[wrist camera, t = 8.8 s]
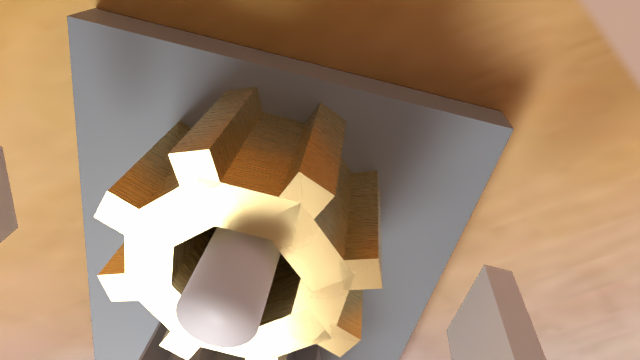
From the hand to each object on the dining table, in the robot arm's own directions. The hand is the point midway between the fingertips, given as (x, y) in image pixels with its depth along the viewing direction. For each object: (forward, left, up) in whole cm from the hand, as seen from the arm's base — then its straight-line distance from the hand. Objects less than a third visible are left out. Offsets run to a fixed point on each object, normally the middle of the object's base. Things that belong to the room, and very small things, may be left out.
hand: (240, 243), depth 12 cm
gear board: (+5, 0, -5) cm, 7 cm away
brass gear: (+1, 0, -4) cm, 4 cm away
